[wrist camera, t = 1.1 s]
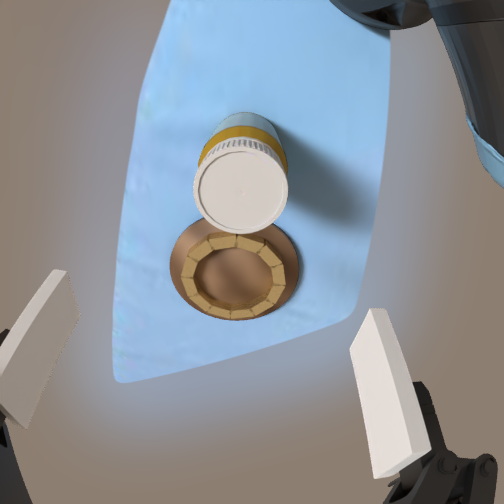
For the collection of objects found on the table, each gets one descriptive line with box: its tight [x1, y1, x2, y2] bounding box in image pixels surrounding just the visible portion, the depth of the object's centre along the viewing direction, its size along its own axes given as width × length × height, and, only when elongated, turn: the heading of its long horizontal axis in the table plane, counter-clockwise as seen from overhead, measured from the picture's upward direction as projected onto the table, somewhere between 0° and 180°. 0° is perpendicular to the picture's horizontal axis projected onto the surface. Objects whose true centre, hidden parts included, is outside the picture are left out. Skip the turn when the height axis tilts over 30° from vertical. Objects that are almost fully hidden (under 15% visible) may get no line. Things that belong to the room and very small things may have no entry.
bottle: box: [193, 112, 289, 234], centre depth 26 cm, size 7×7×15 cm
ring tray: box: [170, 218, 299, 321], centre depth 40 cm, size 17×17×2 cm
